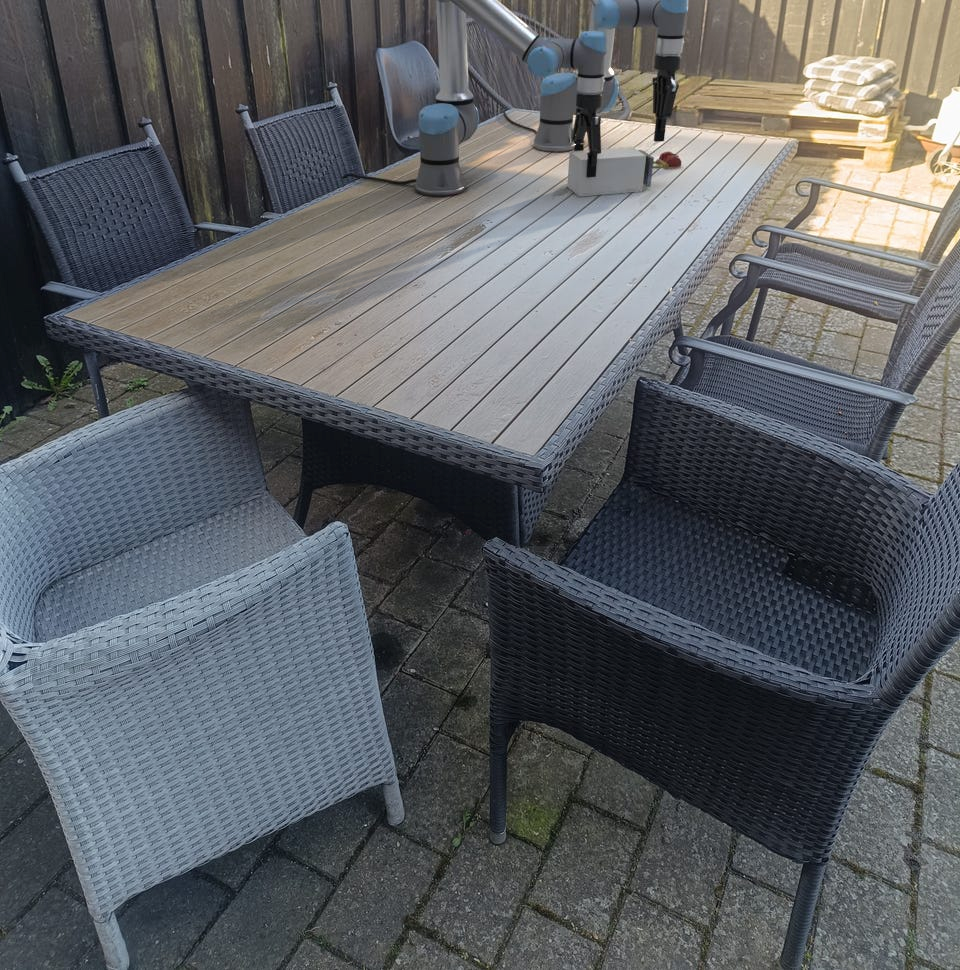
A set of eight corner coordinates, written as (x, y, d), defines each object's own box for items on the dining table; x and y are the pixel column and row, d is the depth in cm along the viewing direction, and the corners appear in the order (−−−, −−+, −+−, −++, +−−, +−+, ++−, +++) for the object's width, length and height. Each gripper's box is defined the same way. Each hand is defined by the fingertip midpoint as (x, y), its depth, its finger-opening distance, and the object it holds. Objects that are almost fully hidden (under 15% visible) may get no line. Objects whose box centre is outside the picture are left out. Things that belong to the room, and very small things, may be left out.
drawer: (656, 177, 266) (659, 148, 261) (669, 185, 259) (672, 156, 254) (580, 183, 261) (582, 153, 256) (591, 191, 254) (593, 161, 248)
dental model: (673, 148, 282) (683, 154, 275) (672, 161, 284) (682, 167, 278) (657, 149, 281) (667, 156, 274) (656, 162, 283) (666, 169, 277)
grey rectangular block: (628, 181, 265) (632, 146, 259) (642, 191, 257) (646, 155, 251) (567, 186, 261) (569, 151, 255) (579, 196, 253) (581, 160, 247)
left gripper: (617, 99, 233) (610, 181, 246) (587, 84, 251) (582, 160, 264) (592, 101, 232) (586, 183, 244) (563, 85, 250) (559, 162, 262)
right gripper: (691, 57, 237) (679, 145, 250) (670, 50, 247) (661, 135, 261) (666, 58, 235) (656, 146, 249) (647, 51, 245) (638, 136, 259)
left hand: (584, 171), depth 254 cm, fingers closed on grey rectangular block, 10 cm apart
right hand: (658, 140), depth 255 cm, fingers closed
